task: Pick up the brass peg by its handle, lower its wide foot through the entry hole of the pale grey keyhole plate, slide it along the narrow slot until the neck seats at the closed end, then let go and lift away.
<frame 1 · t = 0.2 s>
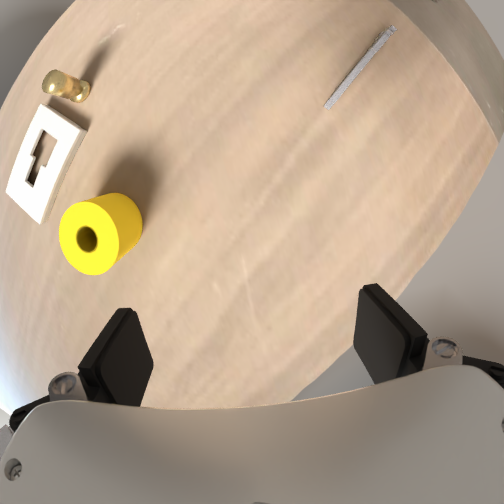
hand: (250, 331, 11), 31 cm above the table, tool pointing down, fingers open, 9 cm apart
brass peg: (81, 91, 32), on the table
tape roll: (115, 223, 40), on the table
caliper: (356, 67, 34), on the table
keyhole plate: (44, 162, 35), on the table
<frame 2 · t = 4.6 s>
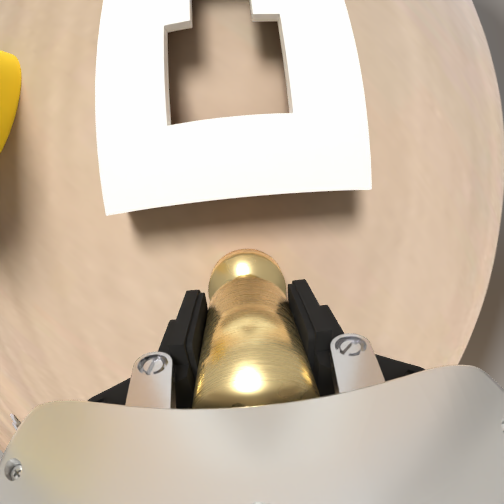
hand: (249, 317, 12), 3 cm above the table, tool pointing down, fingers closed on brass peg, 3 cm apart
brass peg: (246, 283, 15), on the table, touching gripper
keyhole plate: (223, 31, 10), on the table
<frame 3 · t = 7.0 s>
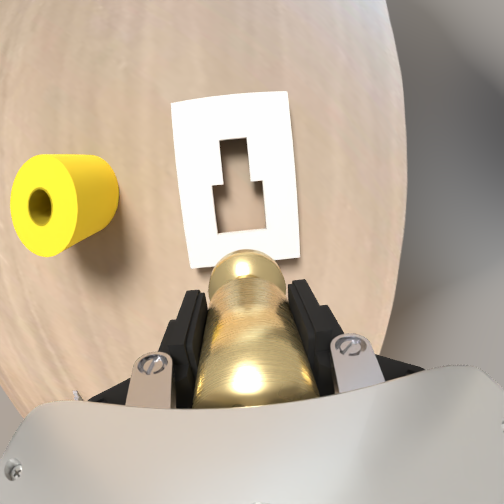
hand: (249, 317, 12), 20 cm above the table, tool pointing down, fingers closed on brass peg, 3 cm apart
brass peg: (246, 284, 15), point 16 cm above the table, touching gripper
tape roll: (86, 194, 29), on the table
keyhole plate: (236, 178, 29), on the table
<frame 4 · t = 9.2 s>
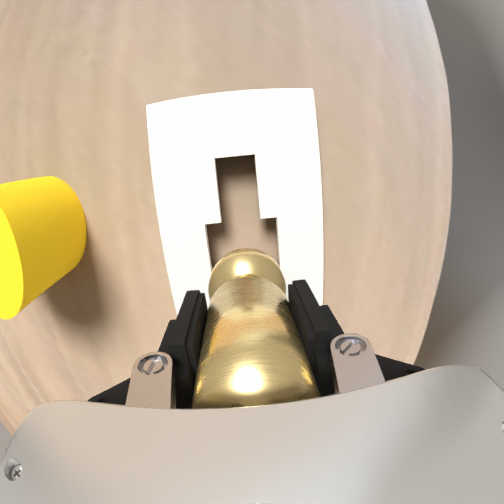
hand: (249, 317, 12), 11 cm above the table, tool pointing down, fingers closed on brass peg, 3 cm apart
brass peg: (246, 283, 15), point 8 cm above the table, touching gripper
tape roll: (49, 226, 21), on the table
keyhole plate: (240, 209, 21), on the table
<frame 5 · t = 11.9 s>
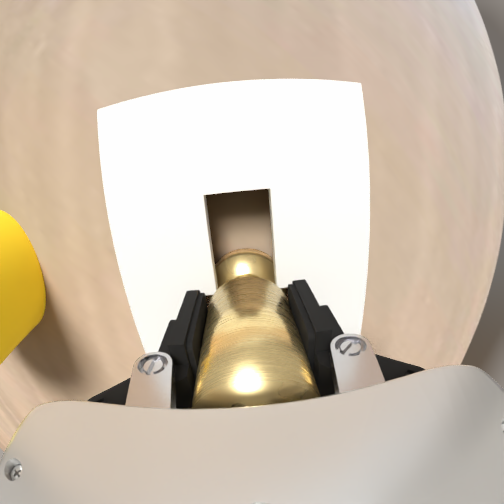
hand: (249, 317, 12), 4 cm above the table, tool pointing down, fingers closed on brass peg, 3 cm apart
brass peg: (246, 283, 15), on the table, touching gripper
tape roll: (5, 271, 14), on the table
keyhole plate: (244, 265, 15), on the table
when the fingers open (4 cm above the table, at t = 14.0 s): brass peg stays where it is, on the table.
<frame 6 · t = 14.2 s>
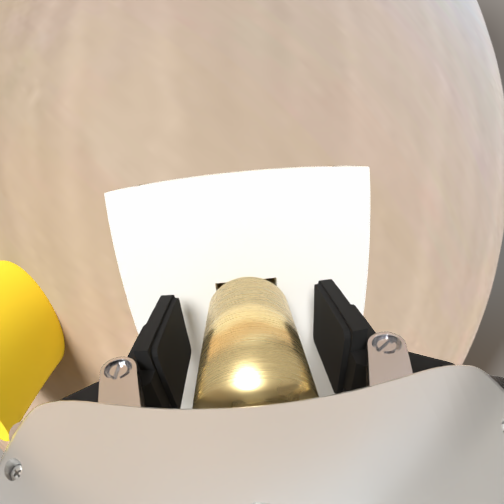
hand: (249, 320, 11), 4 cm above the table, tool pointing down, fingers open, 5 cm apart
brass peg: (246, 283, 15), on the table
tape roll: (21, 316, 16), on the table
keyhole plate: (251, 327, 16), on the table
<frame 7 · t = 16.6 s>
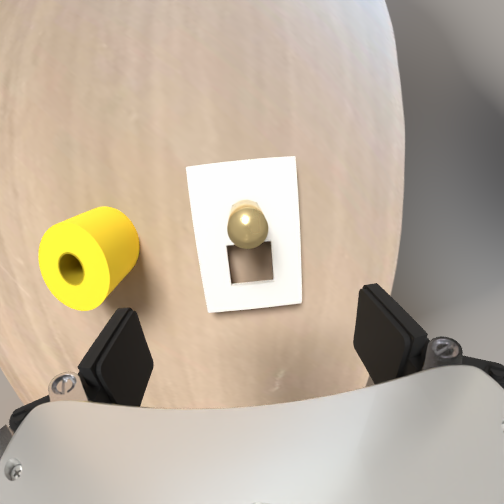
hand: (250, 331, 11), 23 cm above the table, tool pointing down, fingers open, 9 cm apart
brass peg: (245, 210, 32), on the table
tape roll: (107, 242, 33), on the table
keyhole plate: (247, 234, 33), on the table
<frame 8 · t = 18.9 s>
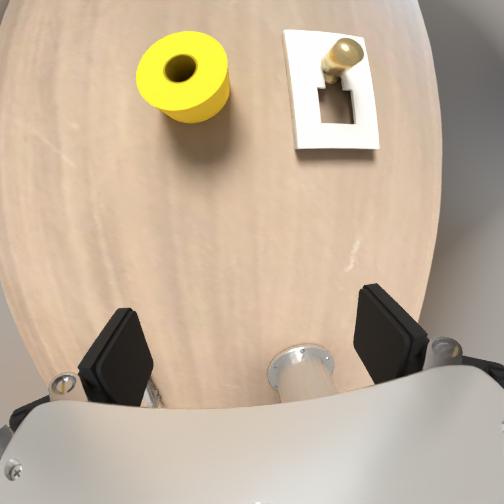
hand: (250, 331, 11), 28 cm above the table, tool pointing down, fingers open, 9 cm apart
brass peg: (326, 72, 31), on the table
tape roll: (193, 90, 32), on the table
caliper: (143, 359, 46), on the table
keyhole plate: (329, 89, 32), on the table
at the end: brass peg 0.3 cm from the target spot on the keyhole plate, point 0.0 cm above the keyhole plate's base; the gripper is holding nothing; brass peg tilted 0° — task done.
